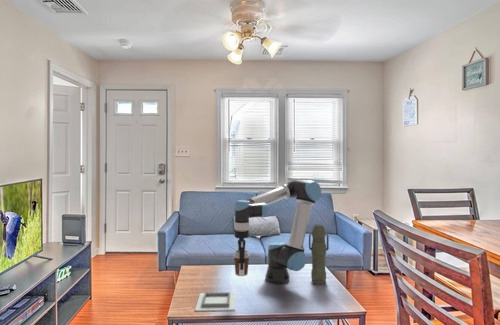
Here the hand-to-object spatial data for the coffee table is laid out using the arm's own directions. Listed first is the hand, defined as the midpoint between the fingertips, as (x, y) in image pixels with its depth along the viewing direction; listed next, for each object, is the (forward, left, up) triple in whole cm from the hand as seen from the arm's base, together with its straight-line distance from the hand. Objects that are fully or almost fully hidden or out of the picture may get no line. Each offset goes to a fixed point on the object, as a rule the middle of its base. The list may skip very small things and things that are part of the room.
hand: (241, 272), depth 168 cm
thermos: (-48, -25, -16) cm, 56 cm away
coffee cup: (0, 0, -1) cm, 1 cm away
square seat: (+13, 0, -16) cm, 21 cm away
